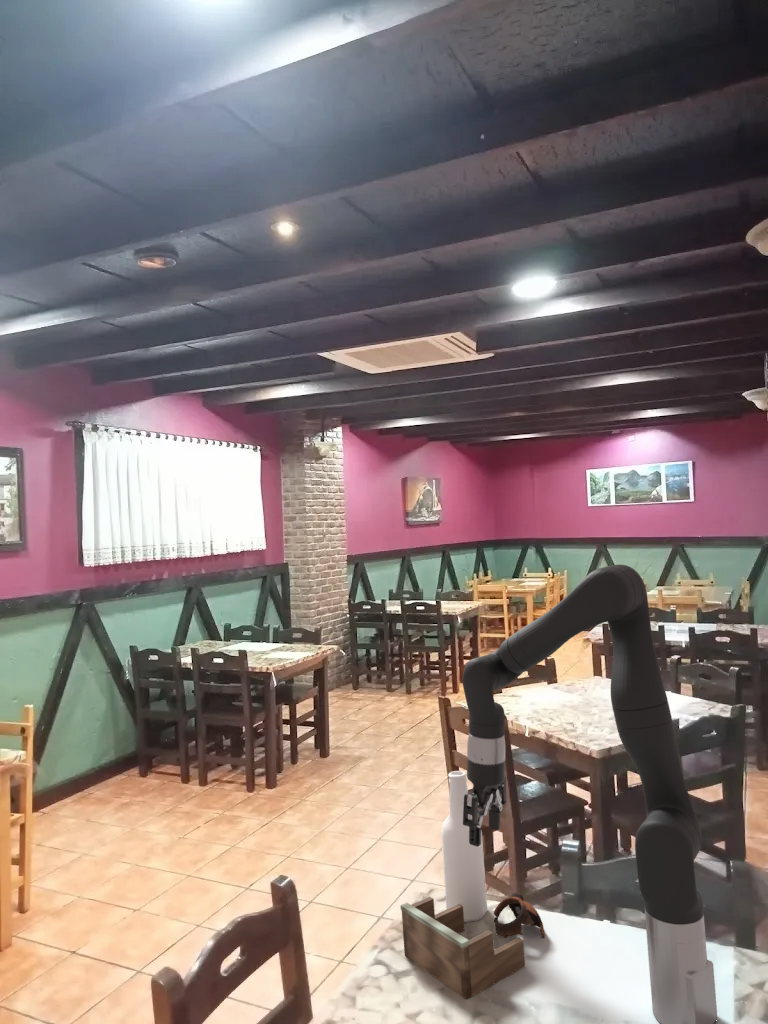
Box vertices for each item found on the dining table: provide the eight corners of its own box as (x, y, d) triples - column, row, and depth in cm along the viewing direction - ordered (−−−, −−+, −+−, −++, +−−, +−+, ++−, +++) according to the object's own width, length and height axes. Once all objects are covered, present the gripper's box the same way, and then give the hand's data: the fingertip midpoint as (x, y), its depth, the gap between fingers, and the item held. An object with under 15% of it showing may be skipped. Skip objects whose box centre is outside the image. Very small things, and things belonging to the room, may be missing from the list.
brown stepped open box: (525, 966, 139) (521, 913, 139) (466, 999, 130) (462, 943, 131) (460, 928, 154) (457, 880, 154) (403, 955, 145) (400, 905, 146)
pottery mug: (552, 948, 145) (531, 917, 144) (510, 968, 147) (489, 937, 145) (542, 903, 157) (523, 874, 156) (503, 921, 159) (484, 893, 157)
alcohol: (473, 927, 154) (463, 782, 155) (438, 916, 160) (429, 776, 160) (495, 909, 161) (485, 770, 162) (461, 898, 166) (451, 764, 167)
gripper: (487, 771, 138) (485, 856, 139) (518, 749, 150) (517, 828, 150) (451, 762, 142) (450, 845, 143) (485, 742, 154) (484, 819, 155)
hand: (484, 836), depth 147 cm, fingers open, 8 cm apart
